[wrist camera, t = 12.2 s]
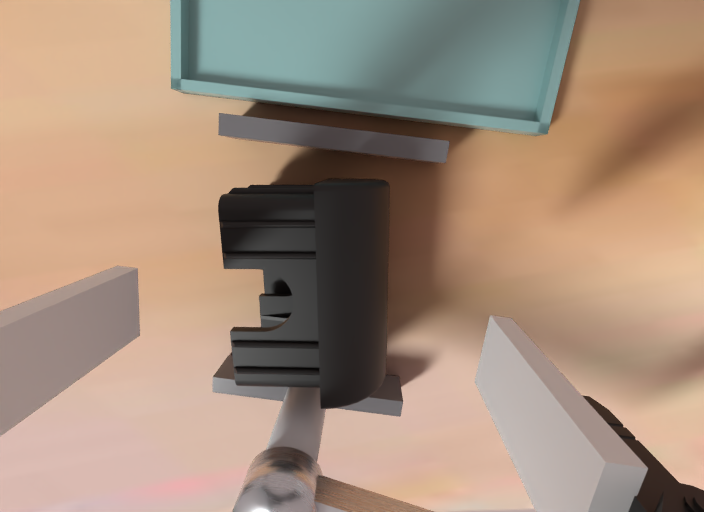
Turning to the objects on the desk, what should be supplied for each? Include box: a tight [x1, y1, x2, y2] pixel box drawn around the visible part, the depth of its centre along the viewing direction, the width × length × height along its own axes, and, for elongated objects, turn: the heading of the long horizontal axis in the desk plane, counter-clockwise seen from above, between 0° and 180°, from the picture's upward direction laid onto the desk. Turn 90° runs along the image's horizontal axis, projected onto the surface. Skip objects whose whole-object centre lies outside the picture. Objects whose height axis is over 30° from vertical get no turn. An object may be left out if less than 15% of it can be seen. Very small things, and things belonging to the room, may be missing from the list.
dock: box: [213, 113, 450, 462], centre depth 17 cm, size 11×16×8 cm
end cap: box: [218, 179, 390, 409], centre depth 18 cm, size 10×7×7 cm
